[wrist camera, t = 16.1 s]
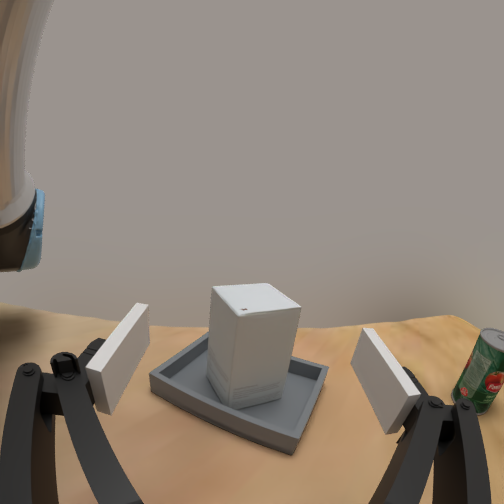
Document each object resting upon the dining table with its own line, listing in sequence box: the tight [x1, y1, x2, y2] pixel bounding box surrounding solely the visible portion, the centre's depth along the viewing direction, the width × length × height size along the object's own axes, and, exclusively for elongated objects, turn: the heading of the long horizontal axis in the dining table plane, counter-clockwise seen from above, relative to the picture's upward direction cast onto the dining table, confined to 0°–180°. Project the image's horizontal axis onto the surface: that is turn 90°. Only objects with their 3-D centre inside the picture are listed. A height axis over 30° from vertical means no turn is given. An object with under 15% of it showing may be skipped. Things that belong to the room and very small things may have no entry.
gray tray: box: [149, 332, 329, 455], centre depth 32 cm, size 18×14×3 cm
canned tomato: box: [451, 328, 504, 415], centre depth 27 cm, size 8×8×11 cm
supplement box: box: [206, 283, 302, 410], centre depth 31 cm, size 7×7×13 cm
